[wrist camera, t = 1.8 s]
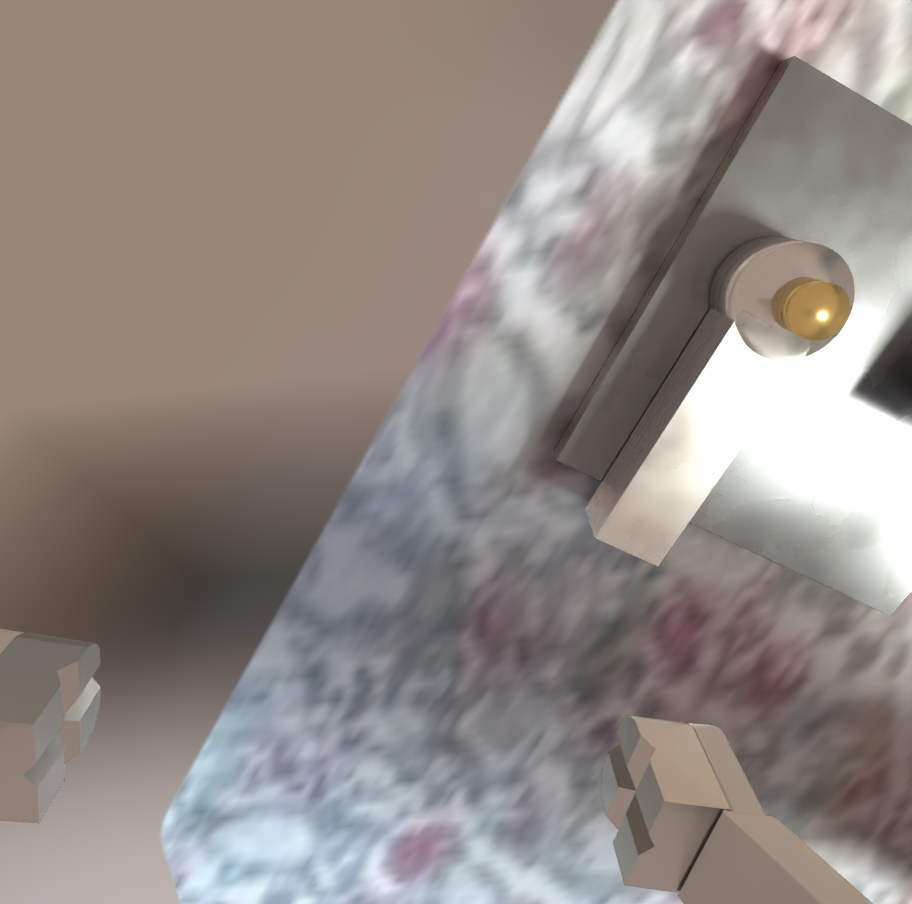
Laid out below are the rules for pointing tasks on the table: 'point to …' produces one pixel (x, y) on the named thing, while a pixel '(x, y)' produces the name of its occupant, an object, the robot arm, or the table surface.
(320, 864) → the table surface
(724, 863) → the robot arm
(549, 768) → the table surface
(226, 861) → the table surface
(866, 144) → the pintle base
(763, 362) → the link
